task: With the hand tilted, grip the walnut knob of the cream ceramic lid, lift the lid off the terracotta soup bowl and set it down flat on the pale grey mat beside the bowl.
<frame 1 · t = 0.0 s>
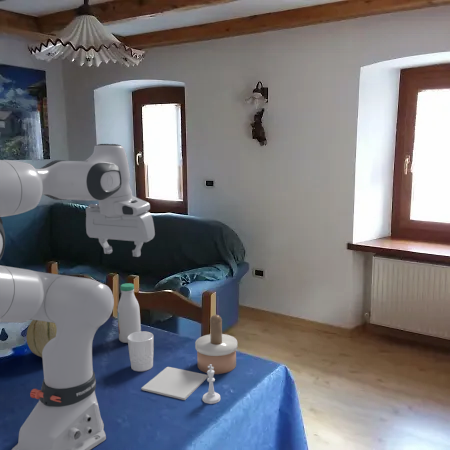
hand: (122, 254, 131), 39 cm above the table, tool pointing down, fingers open, 8 cm apart
white cup: (142, 367, 150), on the table
lid: (216, 346, 149), point 6 cm above the table, touching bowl
cantaloupe: (52, 356, 159), on the table
mat: (175, 383, 139), on the table
chess piece: (211, 399, 131), on the table
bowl: (216, 364, 150), on the table
milk bottle: (130, 339, 171), on the table
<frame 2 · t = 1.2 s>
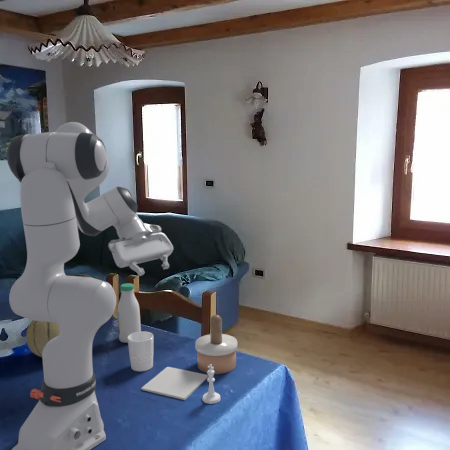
hand: (154, 271, 148), 30 cm above the table, tool tilted 45°, fingers open, 8 cm apart
nothing on the table moved.
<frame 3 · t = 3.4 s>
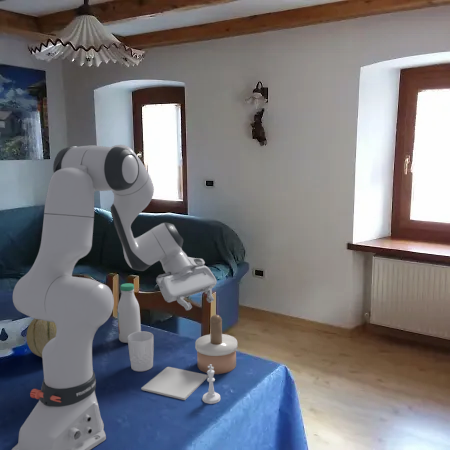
hand: (200, 305, 152), 18 cm above the table, tool tilted 45°, fingers open, 8 cm apart
nothing on the table moved.
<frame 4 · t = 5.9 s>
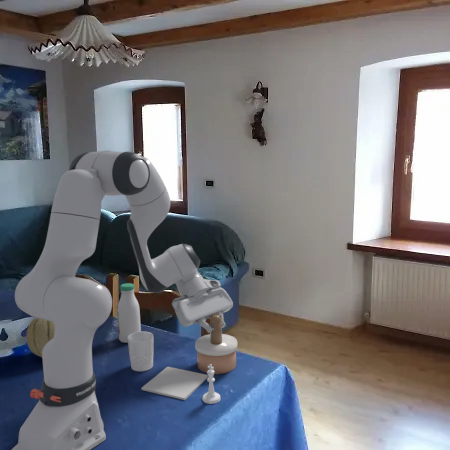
hand: (217, 329, 148), 12 cm above the table, tool tilted 45°, fingers closed on lid, 4 cm apart
lid: (216, 346, 149), point 6 cm above the table, touching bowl, gripper
everything else where it was.
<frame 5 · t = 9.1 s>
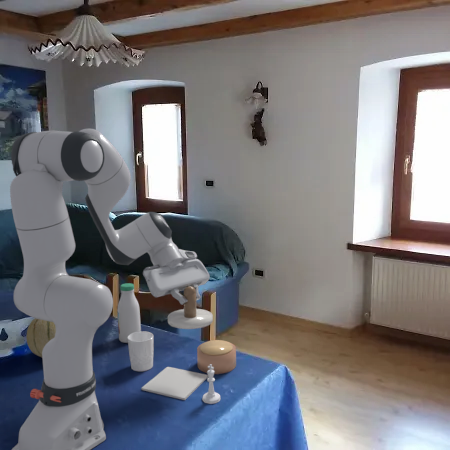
hand: (191, 301, 139), 23 cm above the table, tool tilted 45°, fingers closed on lid, 4 cm apart
lid: (190, 320, 140), point 17 cm above the table, touching gripper
everything else where it was.
when the fingers open (8 cm above the table, at t = 12.6 s): lid drops 1 cm, resting on mat.
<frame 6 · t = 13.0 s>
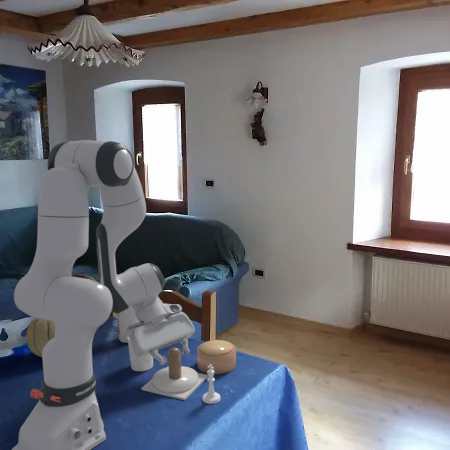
hand: (176, 358, 138), 8 cm above the table, tool tilted 45°, fingers open, 7 cm apart
lid: (175, 381, 139), point 1 cm above the table, touching mat
everything else where it was.
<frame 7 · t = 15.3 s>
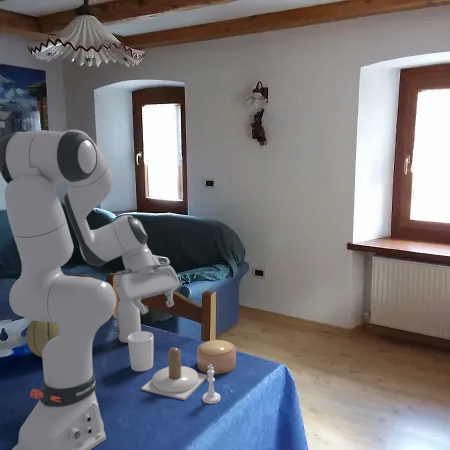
hand: (158, 309, 140), 21 cm above the table, tool tilted 35°, fingers open, 8 cm apart
nothing on the table moved.
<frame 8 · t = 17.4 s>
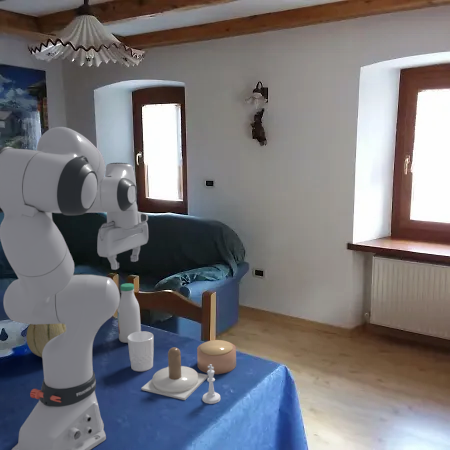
hand: (125, 265, 142), 33 cm above the table, tool pointing down, fingers open, 8 cm apart
nothing on the table moved.
at the end: lid inside the target area on the mat (0.0 cm from its centre), point 0.6 cm above the mat's base; lid tilted 0°; the gripper is holding nothing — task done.
